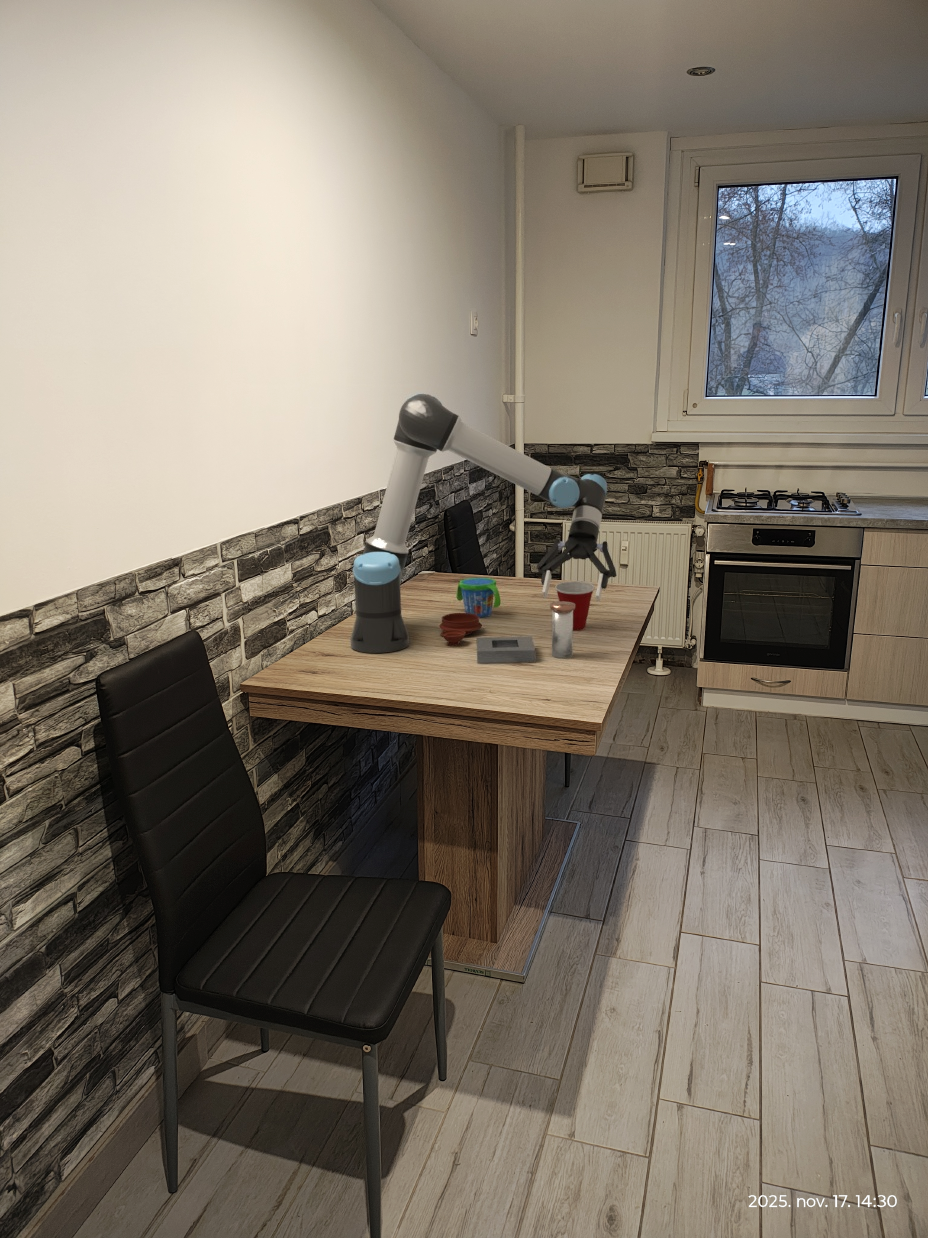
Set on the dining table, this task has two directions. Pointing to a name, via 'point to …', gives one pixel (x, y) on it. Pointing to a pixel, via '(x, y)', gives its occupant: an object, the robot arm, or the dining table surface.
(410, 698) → the dining table surface
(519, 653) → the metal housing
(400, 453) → the robot arm
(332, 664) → the dining table surface
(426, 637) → the dining table surface
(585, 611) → the plastic cup
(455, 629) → the pottery
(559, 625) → the silver copper-capped cylinder
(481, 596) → the snack cup
